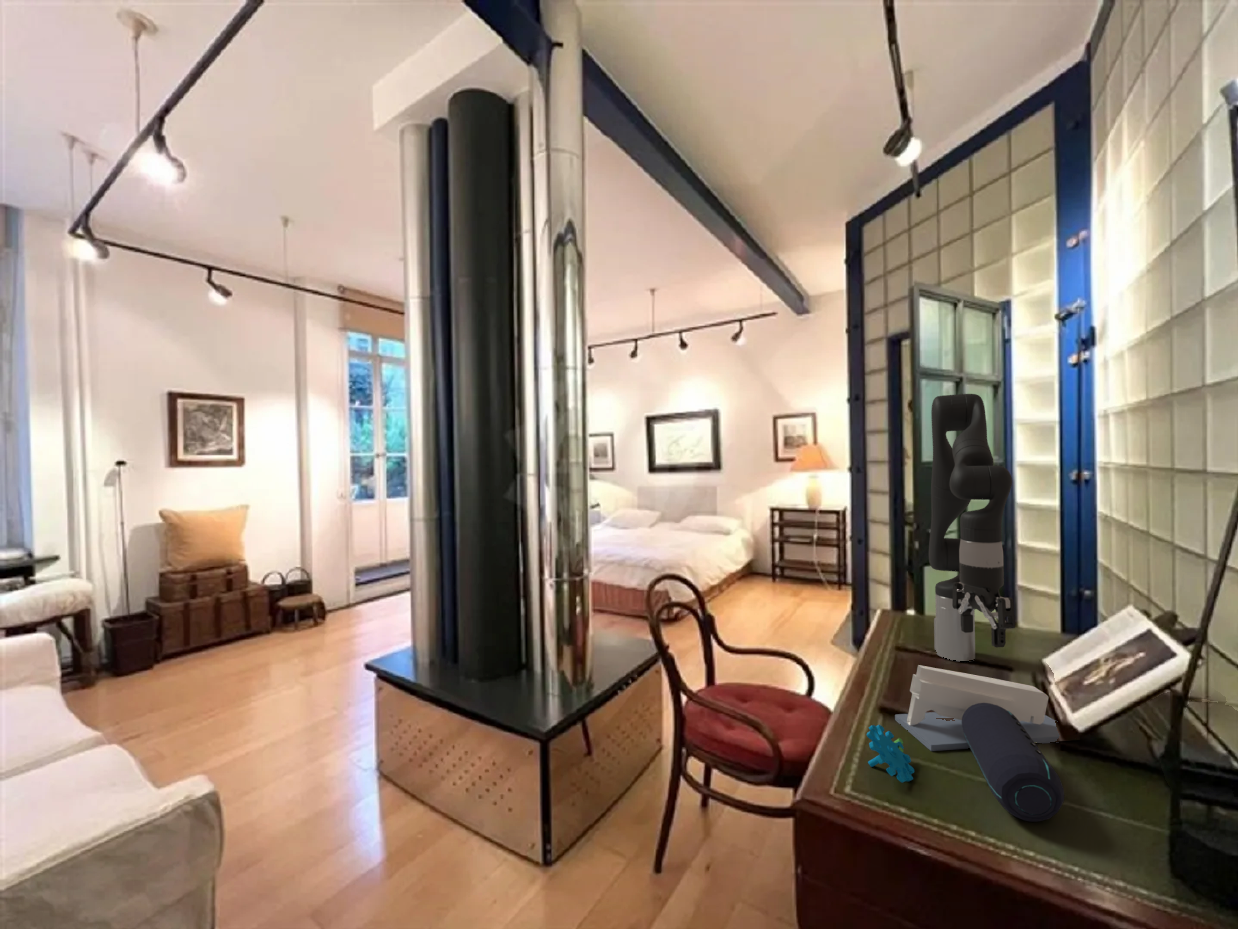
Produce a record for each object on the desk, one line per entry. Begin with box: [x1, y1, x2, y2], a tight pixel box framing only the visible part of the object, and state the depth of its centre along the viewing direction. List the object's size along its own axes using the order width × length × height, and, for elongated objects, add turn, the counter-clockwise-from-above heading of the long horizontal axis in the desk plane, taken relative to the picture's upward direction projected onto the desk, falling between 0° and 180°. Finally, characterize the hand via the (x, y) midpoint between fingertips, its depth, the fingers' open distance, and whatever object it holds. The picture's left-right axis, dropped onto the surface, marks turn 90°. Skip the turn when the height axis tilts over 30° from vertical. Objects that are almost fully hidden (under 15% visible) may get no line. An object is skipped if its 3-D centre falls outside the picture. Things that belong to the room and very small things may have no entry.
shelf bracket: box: [907, 664, 1050, 726], centre depth 110 cm, size 6×25×13 cm, turn 85°
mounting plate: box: [894, 711, 1060, 752], centre depth 110 cm, size 12×31×1 cm, turn 94°
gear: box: [866, 724, 915, 784], centre depth 98 cm, size 11×6×10 cm
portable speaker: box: [962, 703, 1065, 823], centre depth 92 cm, size 25×10×10 cm, turn 159°
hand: (982, 639), depth 109 cm, fingers open, 8 cm apart
